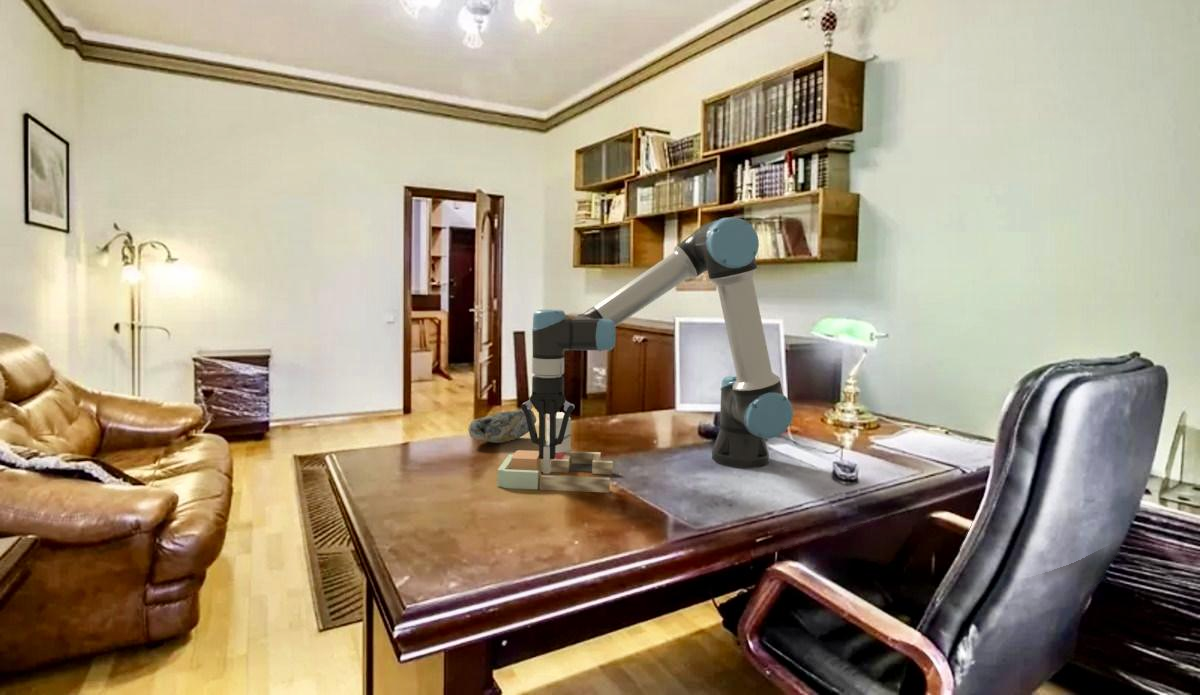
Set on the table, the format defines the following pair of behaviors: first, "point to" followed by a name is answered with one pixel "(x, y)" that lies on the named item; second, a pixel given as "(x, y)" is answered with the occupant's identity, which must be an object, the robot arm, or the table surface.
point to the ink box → (566, 442)
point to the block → (526, 461)
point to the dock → (517, 476)
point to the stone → (500, 426)
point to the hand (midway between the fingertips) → (547, 471)
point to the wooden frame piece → (578, 463)
